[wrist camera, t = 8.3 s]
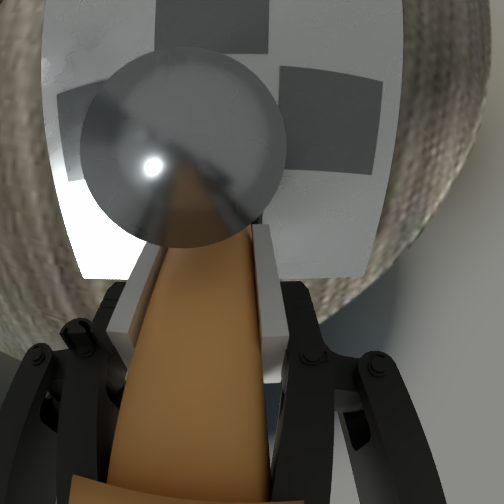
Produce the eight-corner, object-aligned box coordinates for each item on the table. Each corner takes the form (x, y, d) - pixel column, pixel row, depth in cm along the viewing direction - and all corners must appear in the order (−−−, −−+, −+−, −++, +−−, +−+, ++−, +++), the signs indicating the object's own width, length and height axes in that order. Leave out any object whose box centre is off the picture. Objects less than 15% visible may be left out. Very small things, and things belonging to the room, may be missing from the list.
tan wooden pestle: (175, 261, 17) (123, 522, 5) (163, 177, 14) (15, 497, 2) (262, 260, 18) (292, 534, 5) (266, 175, 14) (348, 549, 2)
